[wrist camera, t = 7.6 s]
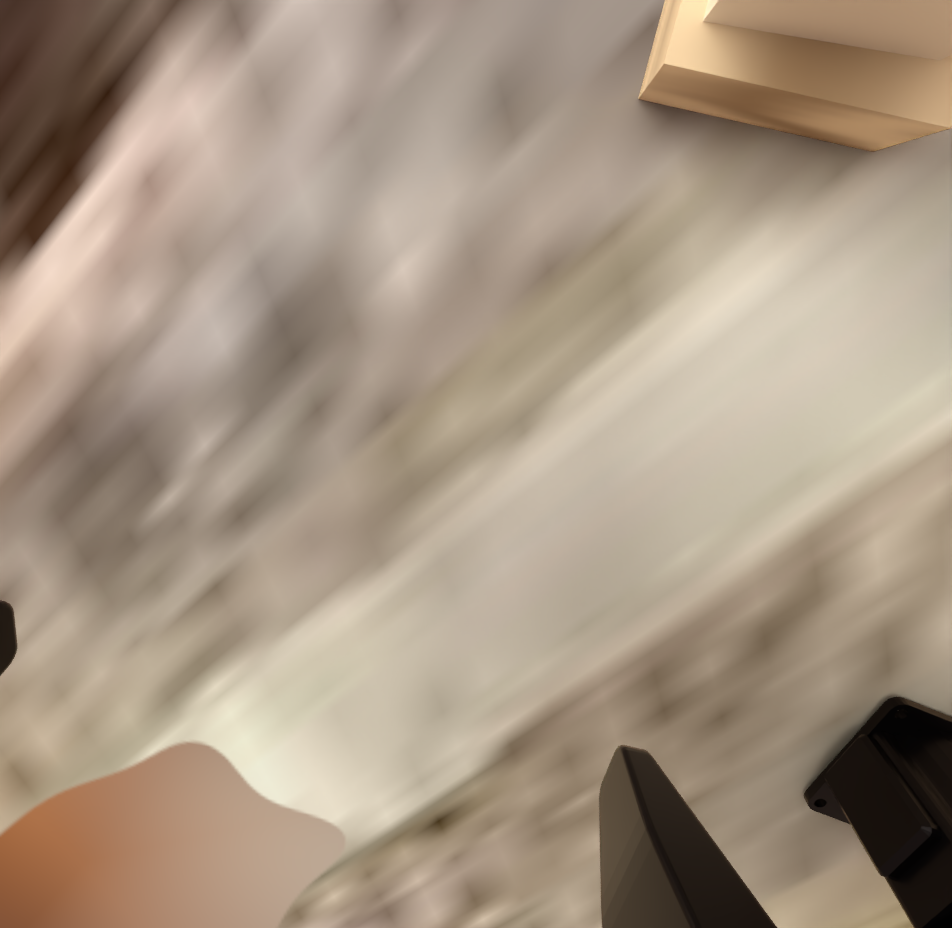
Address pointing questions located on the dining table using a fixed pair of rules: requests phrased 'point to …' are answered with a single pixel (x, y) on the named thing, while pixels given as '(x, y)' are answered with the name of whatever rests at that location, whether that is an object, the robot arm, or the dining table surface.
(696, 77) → the tower base
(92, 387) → the dining table surface
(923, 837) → the robot arm
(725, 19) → the tower mid
